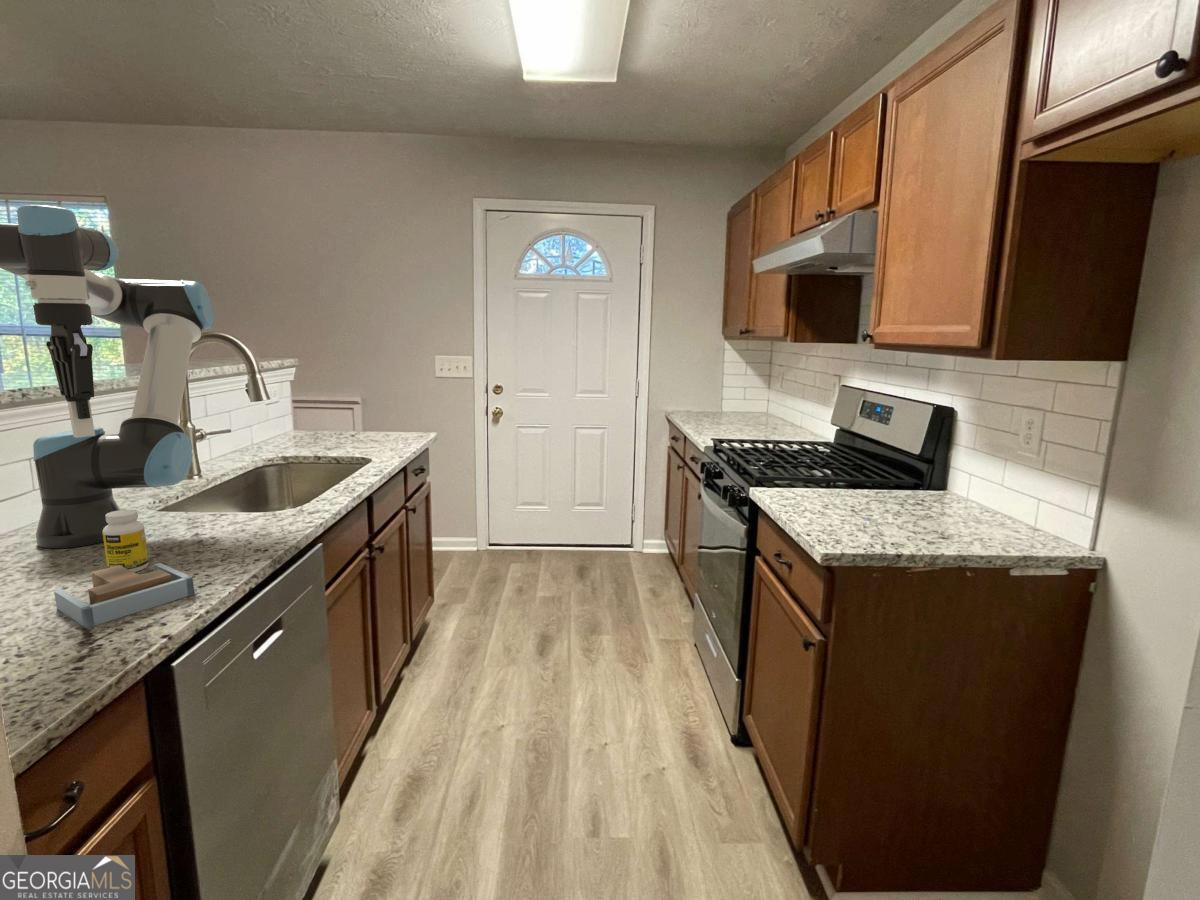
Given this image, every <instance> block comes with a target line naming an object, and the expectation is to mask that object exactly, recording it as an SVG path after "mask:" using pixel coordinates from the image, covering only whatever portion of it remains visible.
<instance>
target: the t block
mask: <svg viewBox="0 0 1200 900" xmlns="http://www.w3.org/2000/svg"><path fill="white" fill-rule="evenodd" d="M90 573H91V580H92V585H93V587H92V588H91V587H90V588H88V589H87V590H88V591H87V592H88V598H89V605H93V604H96V603H100V602H103V601H107V600H110V599H113V598H117V597H120V596H124V595H127V594H130V593H134V592H137V591H141V590H144V589H147V588H151V587H154V586H158V585H161V584H164V583H168V582H171V574H168V573H166V572H164V571H162V570H160V569H159V570H156V571H155V570H153V571H149V572H146V573H141V574H139V573H137V572H132V571H130V570H128V569H126V568H124V567H122V566H120V565H117V566H113V567H109V568H107V567H106V568H103V569H98V570H94V571H91V572H90Z"/></svg>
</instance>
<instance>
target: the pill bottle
mask: <svg viewBox="0 0 1200 900" xmlns="http://www.w3.org/2000/svg"><path fill="white" fill-rule="evenodd" d="M105 516H106V521H107V523H108V525H107V526H106V527H105V528H104V529H103V540H104V542H103V545H104V546H103V547H104V554H105V561H106V568H109V567H113V566H117V565H120V566H122V567H124V568H126V569H128V570H130V571H132V572H134V573H137V572H140V571H143V570H145V569H146V568H147V567H148V566H149V556H148V549H147V540H146V532H145V525H144V523H142V522H141V521H139V520H138V519H139V518H138V517H139V514H138V511H137V510H136V509H120V510H118V511H113V512H110V513H107V514H106V515H105Z"/></svg>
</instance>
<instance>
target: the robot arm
mask: <svg viewBox="0 0 1200 900" xmlns="http://www.w3.org/2000/svg"><path fill="white" fill-rule="evenodd" d="M16 215H17V223H7V222H0V269H1V270H3V271H6V272H9V273H11V274H13V275H15V276H18V277H20V278H22V279H24V280H26V281H25V282H24V283H25V286H26V287H29V289H30V293H31V294H30V295H31V298H32V299H33V300H36V301H37V303H36V302H34V303H33V304H32V308H33V313H34V319H35V322H36V323H35V324H37V325H38V326H50V336H49V341H46V343H45V346H46V347H47V350H48V352H49V355H50V357H51V362H52V366H53V368H54V373H55V377H56V381H57V384H58V388H59V393H60V395H61V396H62V397H63V396H64V398H65V400H66V402H67V407H68V412H69V413H68V414H69V418H70V425H71V430H68V431H62V432H61V431H60V432H57V433H52V434H47V435H43V436H40V437H38V438H37V439H36V440H34V442H33V445H32V446H33V447H32V448H33V462H34V466H35V471H36V476H37V481H38V482H37V483H38V488H39V492H40V493H39V495H40V498H41V504H42V505H41V507H42V508H41V512H40V516H39V520H38V524H37V528H36V532H35V539H36V545H37V546H38V547H40V548H43V549H44V548H46V549H66V548H75V547H76V548H77V547H78V548H79V547H83V546H90V545H95V544H99V543H104V540H103V529H104V528H105V527H106V526H107V525H108V523H107V521H106V516H105V515H106V514H107V513H110V512H113V511H118V510H121V509H120V507H119V505H118V504H117V502H116V500H115V499H114V494H113V490H114V489H115V490H116V489H139V488H141V489H142V488H153V489H157V488H161V487H168V486H170V487H171V486H176V485H177V484H179V483H180V482H182V481H183V480H185V478H186V477H187V475H188V473H189V472H190V469H191V466H192V461H193V457H194V456H193V453H192V451H193V443H192V441H191V438H190V437H189V436H188V435H187V434H186V433H185V429H184V427H182V425H180V424H179V422H180V421H179V420H180V416H181V409H182V404H183V399H184V398H183V397H184V392H185V386H186V382H187V381H186V380H187V375H188V369H189V363H190V359H191V352H192V347H193V343H196V342H197V341H199V340H200V339H201V338H202V333H203V332H202V331H203V330H211V329H212V328H213V327H214V324H215V315H214V314H215V313H214V311H213V310H214V309H213V305H212V301H211V298H210V296H209V293H208V291H207V289H206V287H205V286H204V285H203V284H202V283H201V282H198V281H195V280H194V281H193V280H184V279H180V280H172V279H171V280H168V279H167V280H166V279H145V278H144V279H140V278H115V277H111V276H110V275H107V274H105V273H97V272H99V271H106V270H109V269H111V268H112V267H113V266H115V265H116V263H117V262H118V259H119V248H118V245H117V243H116V242H115V241H114V239H112V237H111V236H109V235H108V234H107V233H105V232H103V231H100V230H98V229H95V228H92V227H86V226H85V227H84V226H80V225H79V223H78V222H77V217H76V215H75V213H74V211H72V210H71V209H68V208H65V207H60V206H53V205H40V204H24V205H21V206H19V207H17V210H16ZM93 271H94V272H95V271H96V272H95V273H94V272H93ZM93 317H97V318H99V319H102V320H104V321H108V322H110V323H114V324H117V325H120V326H124V327H129V328H134V329H135V328H137V329H144V330H145V331H146V332H147V333H148V337H147V342H146V347H145V352H144V356H143V362H142V365H141V370H140V371H141V372H140V375H139V379H138V384H137V385H138V386H137V389H136V394H135V399H134V403H133V409H132V413H131V416H130V417H129V418H126V419H124V420H123V421H121V424H120V427H119V431H118V434H117V433H116V434H115V433H114V434H113V433H111V434H106V431H105V430H104V428H103V427H100V426H99V427H95V426H94V420H93V419H94V418H93V414H92V408H91V402H90V400H91V398H94V397H95V387H94V385H95V384H94V371H93V352H94V350H93V349H94V347H93V344H92V343H87V339H86V336H85V335H84V333H83V330H82V326H90V325H93Z"/></svg>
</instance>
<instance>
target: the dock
mask: <svg viewBox="0 0 1200 900" xmlns="http://www.w3.org/2000/svg"><path fill="white" fill-rule="evenodd" d="M153 569H154V570H153V571H156V570H159V569H160V570H162V571H164V572H166V573H168V574H171V582H168V583H164V584H161V585H158V586H154V587H151V588H147V589H144V590H141V591H137V592H134V593H130V594H127V595H124V596H120V597H117V598H113V599H110V600H107V601H103V602H100V603H96V604H93V605H90V604H89V605H88V604H87V603H85V602H84V601H83V600H80V599H79V598H77V597H76V596H74V595H72V594H71V593H69V592H67V591H66V590H64V589H63V588H62V589H61V588H60V589H58V590H54V591H53V594H54V599H55V605H56V609H57V610H59V611H60V612H61V613H63V614H64V615H66V616H67V617H69V618H71V619H72V620H74V621H75V622H76V623H78V624H80V625H81V626H82V627H84V628H85V629H88V628H91V627H94V626H97V625H101V624H104V623H107V622H111V621H113V620H117V619H119V618H123V617H126V616H129V615H132V614H135V613H138V612H139V613H140V612H141V611H145V610H147V609H151V608H154V607H159V606H161V605H164V604H168V603H170V602H172V601H173V602H174V601H177V600H180V599H183V598H186V597H189V596H193V595H195V586H194V578H193V577H192V576H190V575H189V574H186V573H184V572H181V571H180V570H177V569H175V568H172V567H171V566H168V565H165V564H163V563H162V562H157V563H154V564H153Z"/></svg>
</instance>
